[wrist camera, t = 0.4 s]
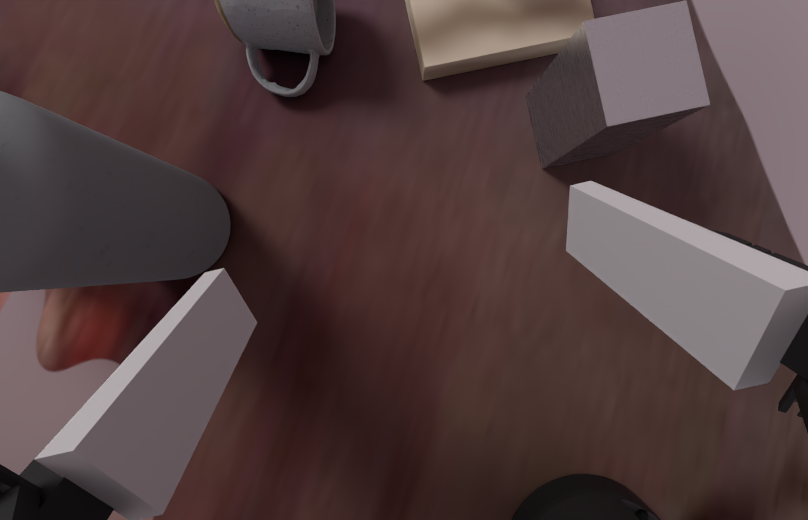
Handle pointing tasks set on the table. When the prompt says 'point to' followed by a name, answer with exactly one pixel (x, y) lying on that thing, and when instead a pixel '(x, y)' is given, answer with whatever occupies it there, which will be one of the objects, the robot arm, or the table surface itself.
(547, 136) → the mottled grey cube
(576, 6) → the base
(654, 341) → the table surface
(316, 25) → the ceramic mug
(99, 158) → the water bottle
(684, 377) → the table surface
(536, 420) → the table surface
